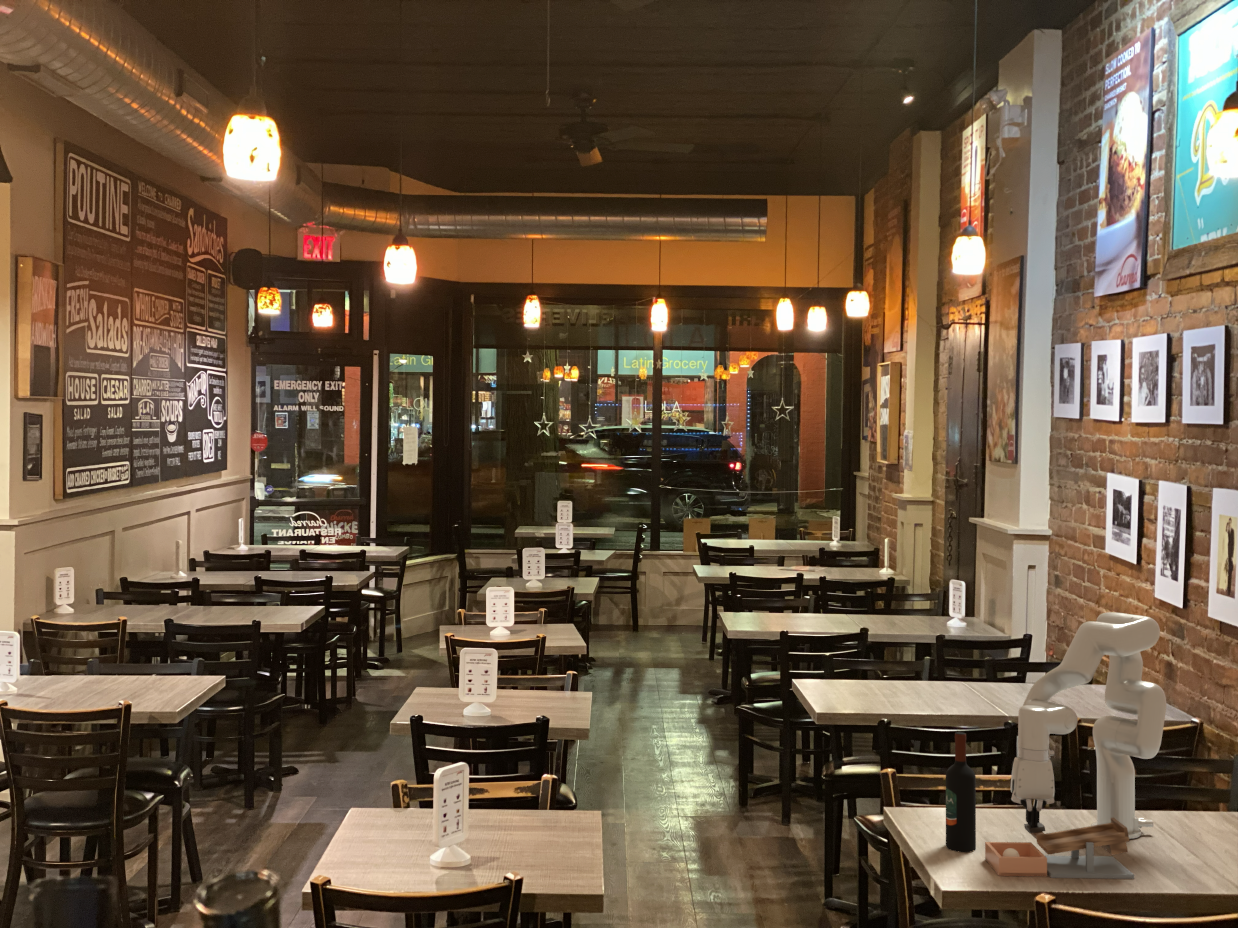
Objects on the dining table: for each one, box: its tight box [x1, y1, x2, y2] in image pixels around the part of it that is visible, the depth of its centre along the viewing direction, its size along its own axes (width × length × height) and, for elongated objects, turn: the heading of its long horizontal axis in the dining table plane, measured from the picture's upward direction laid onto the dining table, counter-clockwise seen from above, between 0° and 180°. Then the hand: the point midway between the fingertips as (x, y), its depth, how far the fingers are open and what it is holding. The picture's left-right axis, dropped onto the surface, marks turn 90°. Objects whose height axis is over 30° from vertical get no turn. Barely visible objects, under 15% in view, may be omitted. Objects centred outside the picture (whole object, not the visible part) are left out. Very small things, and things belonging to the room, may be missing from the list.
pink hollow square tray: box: [984, 841, 1048, 878], centre depth 279 cm, size 12×12×4 cm
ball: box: [1003, 848, 1020, 857], centre depth 279 cm, size 4×4×4 cm
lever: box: [1023, 818, 1130, 856], centre depth 283 cm, size 20×17×6 cm
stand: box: [1043, 842, 1135, 880], centre depth 278 cm, size 20×13×8 cm, turn 88°
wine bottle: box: [945, 731, 977, 853], centre depth 294 cm, size 8×8×30 cm
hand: (1032, 824), depth 289 cm, fingers closed
